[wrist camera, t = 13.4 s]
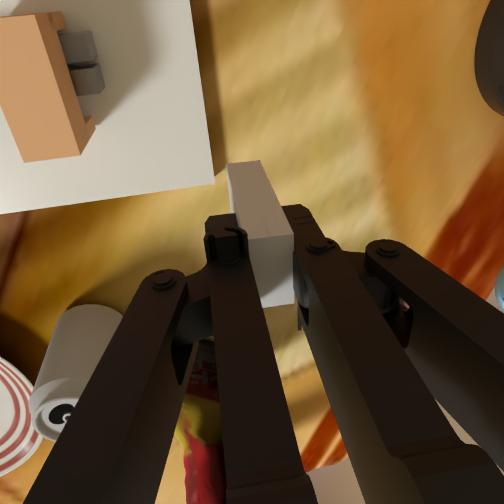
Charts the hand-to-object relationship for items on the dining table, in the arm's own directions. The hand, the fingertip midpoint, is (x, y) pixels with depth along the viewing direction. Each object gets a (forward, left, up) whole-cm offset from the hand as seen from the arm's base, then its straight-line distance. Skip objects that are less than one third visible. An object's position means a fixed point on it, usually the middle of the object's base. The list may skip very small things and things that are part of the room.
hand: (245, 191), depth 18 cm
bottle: (+5, +28, -18) cm, 34 cm away
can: (+16, +21, -18) cm, 32 cm away
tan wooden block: (+11, -3, -16) cm, 20 cm away
